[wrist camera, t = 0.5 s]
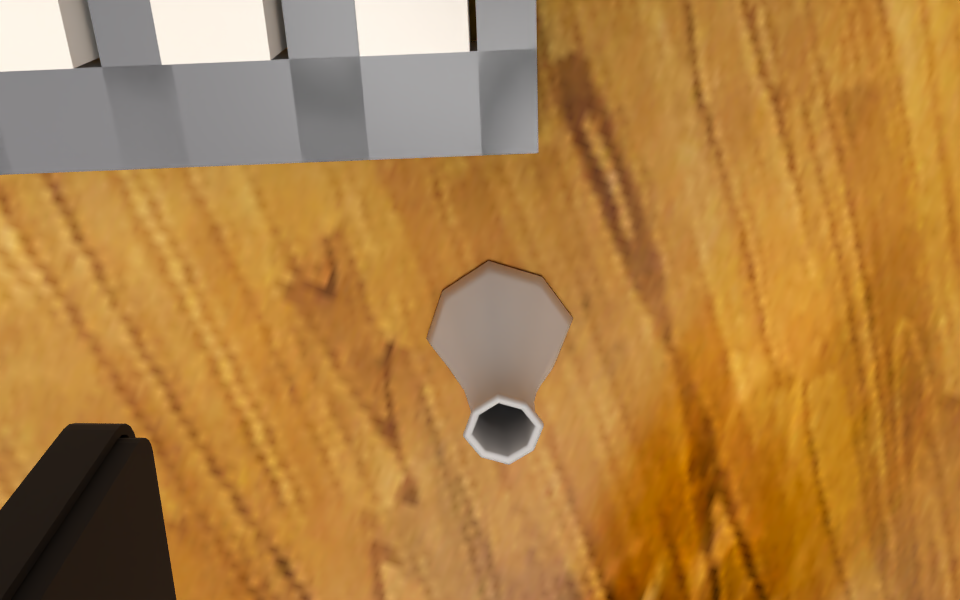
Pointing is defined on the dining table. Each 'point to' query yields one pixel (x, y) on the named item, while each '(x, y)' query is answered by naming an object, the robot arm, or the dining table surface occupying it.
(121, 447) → the robot arm
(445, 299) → the flask
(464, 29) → the button
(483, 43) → the button board
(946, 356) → the dining table surface
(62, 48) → the button
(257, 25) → the button
